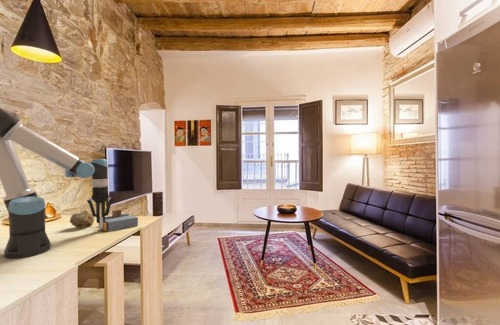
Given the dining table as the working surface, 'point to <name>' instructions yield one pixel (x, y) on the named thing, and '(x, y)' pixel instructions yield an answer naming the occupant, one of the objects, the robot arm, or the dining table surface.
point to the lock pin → (105, 227)
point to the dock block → (121, 222)
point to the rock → (82, 219)
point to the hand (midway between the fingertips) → (100, 228)
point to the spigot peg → (116, 213)
